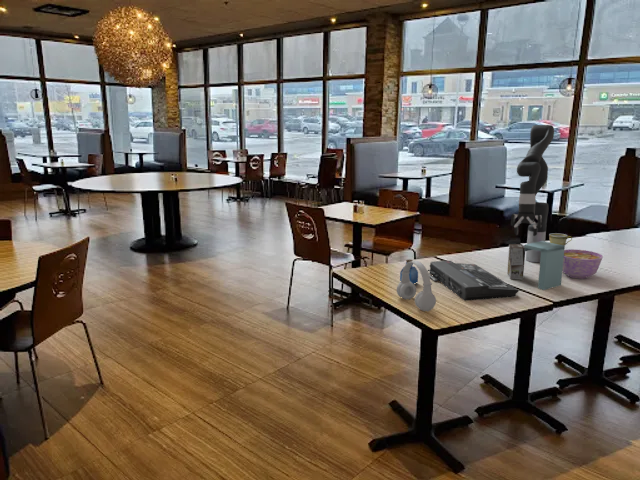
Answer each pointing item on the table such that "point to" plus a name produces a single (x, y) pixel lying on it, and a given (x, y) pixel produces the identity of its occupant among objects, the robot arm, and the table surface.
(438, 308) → the table surface
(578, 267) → the bowl of food
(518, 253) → the coffee box
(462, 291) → the vintage computer
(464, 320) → the table surface
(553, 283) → the bracket
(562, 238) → the ceramic cup
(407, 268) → the headphones
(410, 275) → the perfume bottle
